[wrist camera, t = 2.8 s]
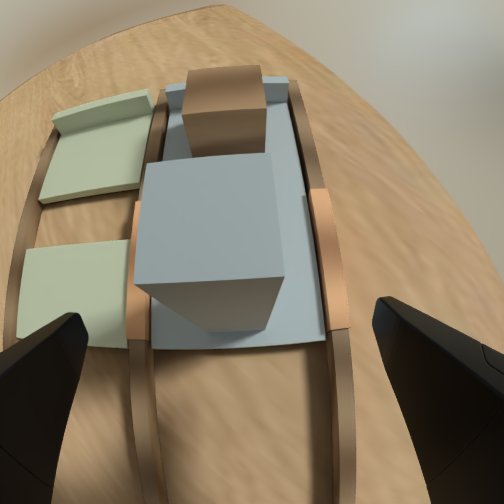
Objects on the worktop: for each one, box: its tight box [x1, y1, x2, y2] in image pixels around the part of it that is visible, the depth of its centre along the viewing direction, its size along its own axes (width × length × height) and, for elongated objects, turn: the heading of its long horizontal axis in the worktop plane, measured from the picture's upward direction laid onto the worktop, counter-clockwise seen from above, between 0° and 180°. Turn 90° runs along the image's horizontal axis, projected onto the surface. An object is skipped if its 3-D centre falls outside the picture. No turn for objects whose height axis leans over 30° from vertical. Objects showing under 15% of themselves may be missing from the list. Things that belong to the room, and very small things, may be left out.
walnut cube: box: [181, 65, 267, 158], centre depth 19 cm, size 5×5×5 cm
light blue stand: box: [134, 76, 326, 350], centre depth 15 cm, size 20×10×12 cm, turn 4°
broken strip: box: [16, 88, 155, 349], centre depth 18 cm, size 20×10×3 cm, turn 4°
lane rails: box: [3, 80, 356, 504], centre depth 17 cm, size 35×24×2 cm
